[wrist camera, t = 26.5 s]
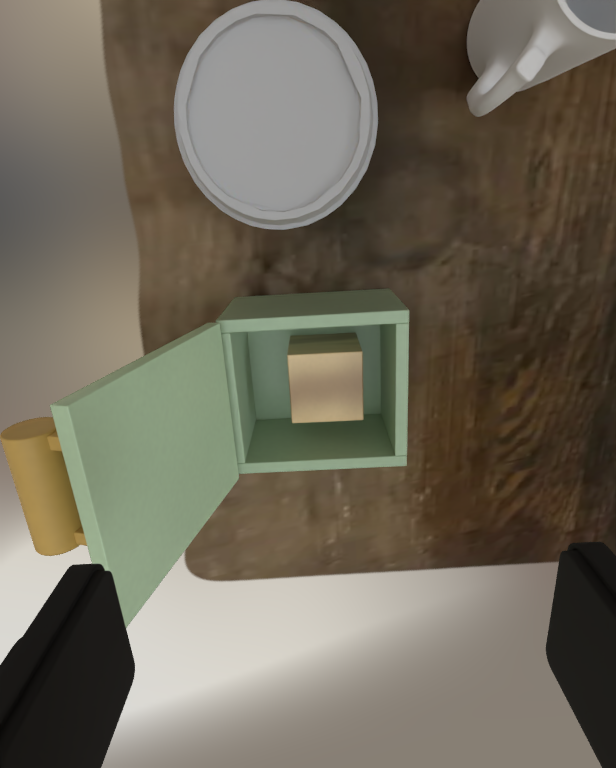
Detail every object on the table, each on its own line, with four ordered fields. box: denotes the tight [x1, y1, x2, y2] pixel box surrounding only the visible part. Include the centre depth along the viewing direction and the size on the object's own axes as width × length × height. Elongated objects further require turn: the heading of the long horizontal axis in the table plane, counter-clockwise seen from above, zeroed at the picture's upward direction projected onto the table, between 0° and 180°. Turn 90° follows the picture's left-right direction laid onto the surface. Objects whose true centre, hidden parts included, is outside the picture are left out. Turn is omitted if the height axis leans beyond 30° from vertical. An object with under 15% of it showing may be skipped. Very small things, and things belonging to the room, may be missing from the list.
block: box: [287, 333, 364, 423], centre depth 35 cm, size 5×5×5 cm
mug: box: [467, 0, 616, 117], centre depth 25 cm, size 10×7×12 cm, turn 143°
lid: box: [0, 323, 239, 628], centre depth 25 cm, size 12×11×6 cm
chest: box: [216, 288, 409, 474], centre depth 34 cm, size 12×11×8 cm
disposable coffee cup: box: [174, 0, 378, 230], centre depth 27 cm, size 10×10×12 cm
